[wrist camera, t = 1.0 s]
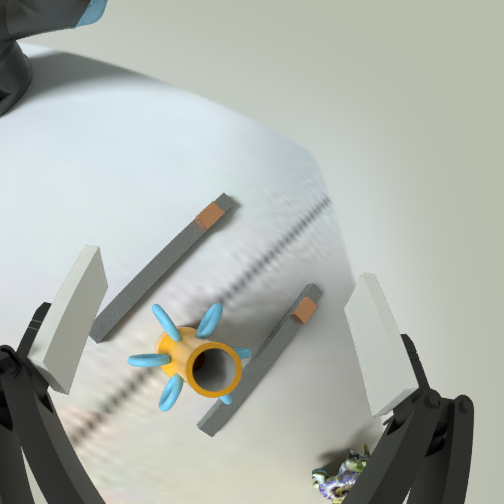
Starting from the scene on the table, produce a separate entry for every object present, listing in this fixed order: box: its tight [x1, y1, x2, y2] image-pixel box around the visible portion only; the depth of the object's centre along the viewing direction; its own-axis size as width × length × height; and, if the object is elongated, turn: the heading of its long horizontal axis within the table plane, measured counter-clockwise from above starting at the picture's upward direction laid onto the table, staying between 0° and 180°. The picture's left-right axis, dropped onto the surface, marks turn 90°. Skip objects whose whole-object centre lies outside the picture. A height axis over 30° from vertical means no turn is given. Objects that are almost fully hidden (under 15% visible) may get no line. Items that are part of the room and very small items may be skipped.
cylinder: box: [127, 303, 252, 411], centre depth 26 cm, size 12×10×15 cm
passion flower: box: [312, 444, 371, 504], centre depth 33 cm, size 11×11×12 cm
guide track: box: [89, 193, 322, 437], centre depth 34 cm, size 24×19×2 cm
